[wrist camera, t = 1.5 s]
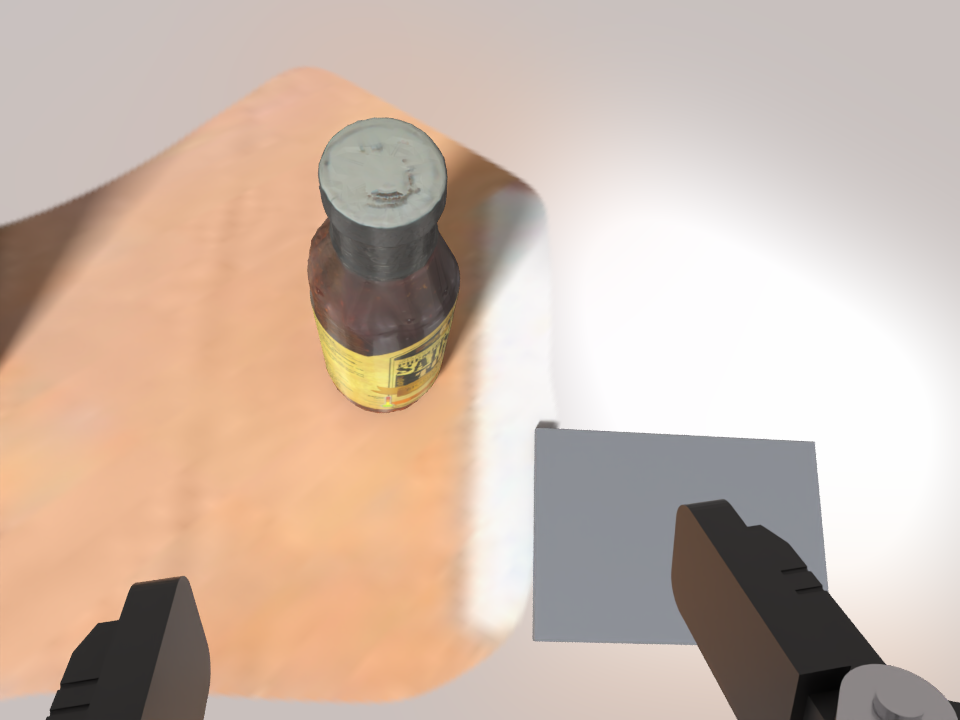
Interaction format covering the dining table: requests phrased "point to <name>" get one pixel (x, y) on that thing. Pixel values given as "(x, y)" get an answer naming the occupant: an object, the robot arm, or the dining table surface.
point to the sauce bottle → (382, 264)
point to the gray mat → (650, 523)
